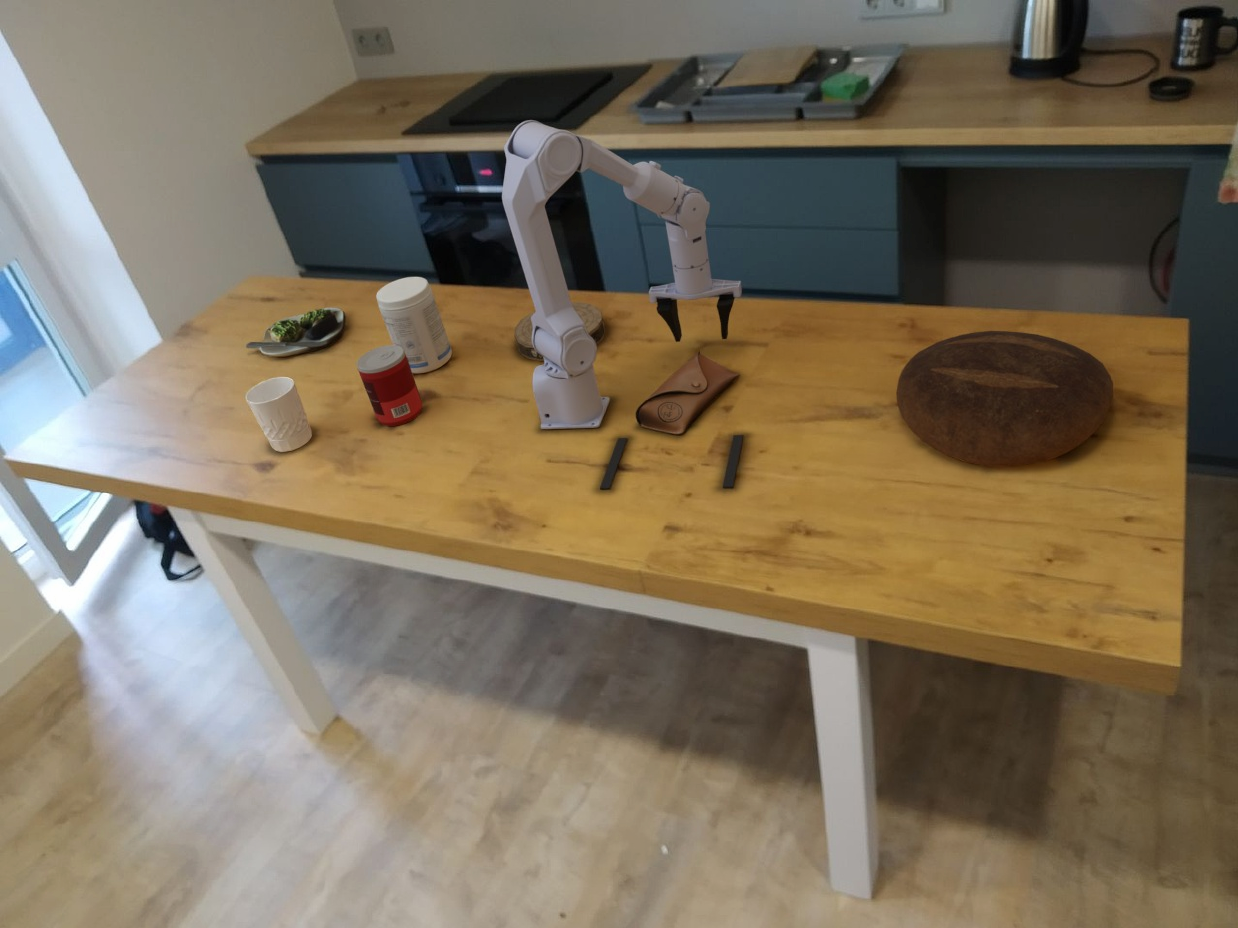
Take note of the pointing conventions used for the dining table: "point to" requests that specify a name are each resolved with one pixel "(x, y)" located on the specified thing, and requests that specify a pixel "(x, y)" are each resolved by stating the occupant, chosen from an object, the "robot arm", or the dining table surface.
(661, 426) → the sunglasses case
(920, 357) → the bread
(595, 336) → the tan round flat disc
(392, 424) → the canned food
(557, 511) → the dining table surface
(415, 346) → the supplement tub
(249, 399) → the white cup
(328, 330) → the salad plate
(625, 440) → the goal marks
